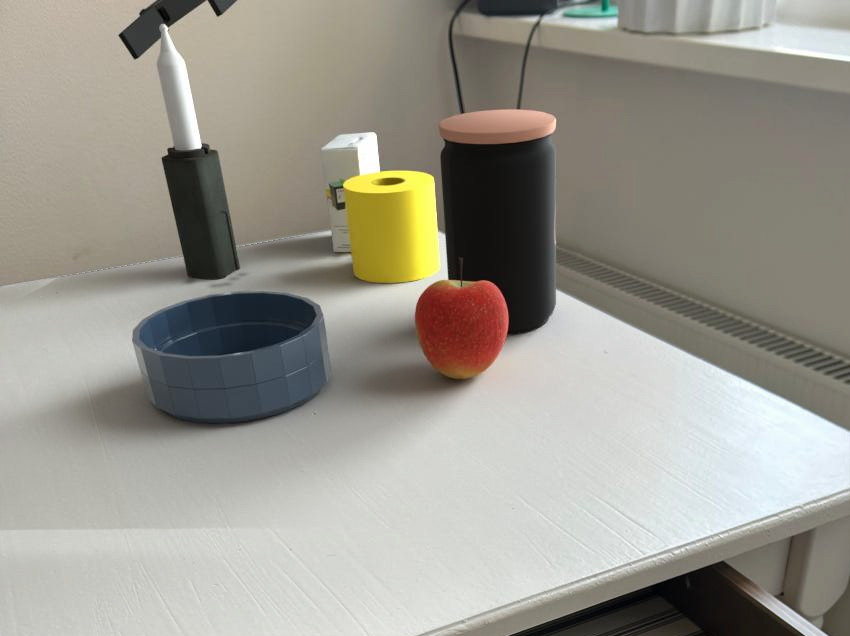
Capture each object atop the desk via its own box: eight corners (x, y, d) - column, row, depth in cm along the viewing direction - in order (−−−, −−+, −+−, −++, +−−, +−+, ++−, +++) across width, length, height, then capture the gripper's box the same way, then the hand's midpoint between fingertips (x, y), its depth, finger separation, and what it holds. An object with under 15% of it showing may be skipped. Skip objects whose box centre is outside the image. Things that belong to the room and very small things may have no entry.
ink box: (349, 232, 126) (337, 131, 119) (387, 232, 125) (377, 131, 118) (332, 253, 119) (318, 147, 112) (371, 253, 119) (359, 146, 112)
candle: (220, 280, 113) (168, 26, 98) (183, 276, 115) (126, 27, 99) (244, 266, 117) (197, 20, 101) (207, 263, 118) (156, 20, 103)
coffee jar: (577, 319, 98) (580, 119, 87) (490, 346, 93) (481, 138, 82) (515, 293, 105) (510, 104, 94) (430, 316, 100) (415, 121, 89)
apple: (406, 388, 86) (395, 273, 80) (437, 353, 92) (429, 244, 86) (493, 396, 84) (488, 278, 78) (519, 360, 90) (517, 248, 84)
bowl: (124, 429, 82) (104, 360, 79) (181, 355, 95) (166, 293, 91) (313, 425, 81) (301, 356, 77) (345, 351, 94) (336, 288, 90)
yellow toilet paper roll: (445, 255, 117) (440, 169, 111) (432, 282, 109) (426, 192, 103) (363, 256, 118) (354, 171, 112) (345, 283, 110) (333, 193, 104)
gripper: (359, -67, 110) (272, 20, 99) (210, 11, 124) (119, 95, 113) (323, -144, 105) (227, -60, 94) (172, -53, 119) (73, 29, 108)
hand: (168, 25), depth 103 cm, fingers open, 13 cm apart
